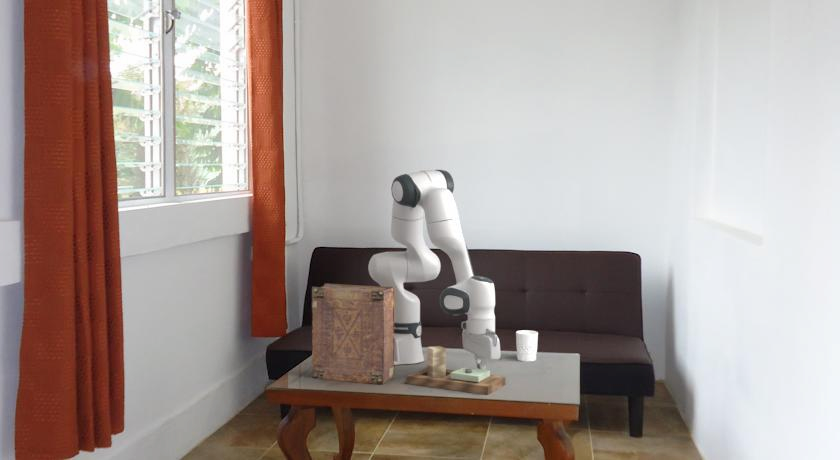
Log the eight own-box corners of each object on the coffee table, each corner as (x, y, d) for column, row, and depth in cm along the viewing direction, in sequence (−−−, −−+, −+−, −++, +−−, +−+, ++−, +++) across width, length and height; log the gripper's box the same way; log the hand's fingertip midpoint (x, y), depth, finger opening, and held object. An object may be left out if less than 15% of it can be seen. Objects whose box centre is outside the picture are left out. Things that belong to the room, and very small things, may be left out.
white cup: (532, 363, 302) (532, 335, 301) (511, 360, 306) (512, 332, 305) (541, 359, 308) (541, 331, 308) (521, 356, 312) (521, 329, 312)
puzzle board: (406, 383, 272) (406, 375, 272) (427, 374, 284) (427, 367, 284) (487, 394, 259) (487, 386, 259) (505, 384, 271) (505, 376, 271)
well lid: (450, 378, 267) (450, 369, 267) (462, 372, 275) (462, 364, 275) (478, 382, 263) (478, 373, 263) (490, 376, 271) (490, 367, 271)
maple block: (432, 383, 272) (432, 349, 271) (427, 380, 276) (427, 347, 275) (445, 382, 274) (445, 348, 273) (440, 379, 278) (440, 345, 277)
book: (311, 378, 279) (311, 286, 277) (324, 371, 288) (323, 283, 286) (383, 384, 271) (383, 290, 268) (394, 378, 279) (394, 287, 277)
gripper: (505, 331, 267) (505, 375, 268) (476, 321, 285) (475, 361, 286) (487, 333, 264) (487, 377, 265) (459, 322, 283) (458, 363, 284)
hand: (481, 369), depth 276 cm, fingers closed
